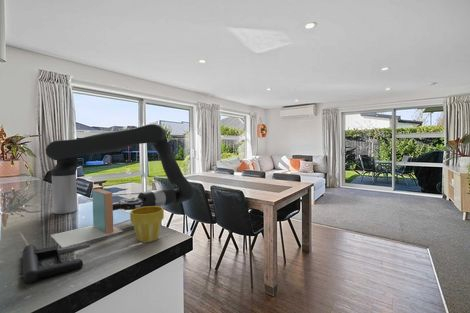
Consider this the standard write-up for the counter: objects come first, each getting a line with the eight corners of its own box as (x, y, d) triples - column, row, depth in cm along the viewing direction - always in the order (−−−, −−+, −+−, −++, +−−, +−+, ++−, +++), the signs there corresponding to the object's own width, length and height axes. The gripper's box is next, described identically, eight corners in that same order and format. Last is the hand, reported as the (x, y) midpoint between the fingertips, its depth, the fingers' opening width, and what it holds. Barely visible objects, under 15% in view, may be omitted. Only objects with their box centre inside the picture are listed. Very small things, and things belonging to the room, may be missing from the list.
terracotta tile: (93, 226, 89) (91, 189, 88) (100, 224, 91) (99, 188, 90) (105, 234, 81) (104, 193, 80) (113, 232, 83) (112, 192, 82)
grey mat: (50, 236, 80) (50, 235, 80) (106, 223, 94) (106, 222, 94) (62, 249, 71) (62, 247, 71) (123, 232, 84) (123, 231, 84)
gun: (84, 234, 77) (17, 246, 66) (100, 256, 62) (17, 275, 51) (84, 245, 77) (17, 257, 66) (99, 269, 62) (16, 290, 51)
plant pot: (127, 237, 80) (126, 208, 79) (157, 230, 86) (157, 204, 86) (135, 248, 72) (135, 216, 71) (168, 239, 78) (168, 210, 77)
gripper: (143, 189, 104) (101, 195, 91) (160, 193, 96) (116, 200, 83) (144, 205, 105) (102, 214, 92) (160, 211, 96) (116, 221, 83)
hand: (108, 207), depth 87 cm, fingers closed
